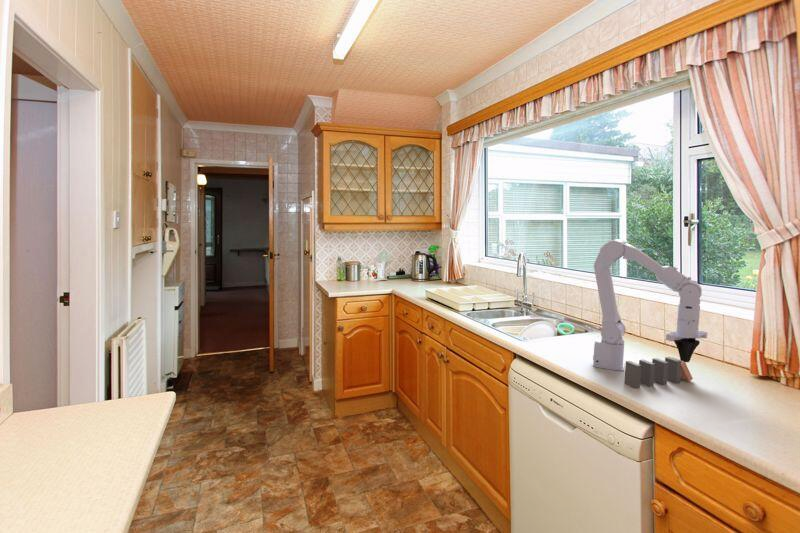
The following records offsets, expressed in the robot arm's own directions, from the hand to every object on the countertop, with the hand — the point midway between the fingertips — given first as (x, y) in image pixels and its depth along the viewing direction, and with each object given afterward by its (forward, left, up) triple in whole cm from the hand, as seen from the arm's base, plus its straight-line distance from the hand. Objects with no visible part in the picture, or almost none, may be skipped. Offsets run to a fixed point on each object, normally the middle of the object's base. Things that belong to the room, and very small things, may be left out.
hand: (684, 361), depth 139 cm
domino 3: (-7, -7, -6) cm, 12 cm away
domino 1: (-14, -14, -6) cm, 21 cm away
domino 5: (0, 0, -6) cm, 6 cm away
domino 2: (-11, -11, -6) cm, 16 cm away
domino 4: (-3, -3, -6) cm, 7 cm away
